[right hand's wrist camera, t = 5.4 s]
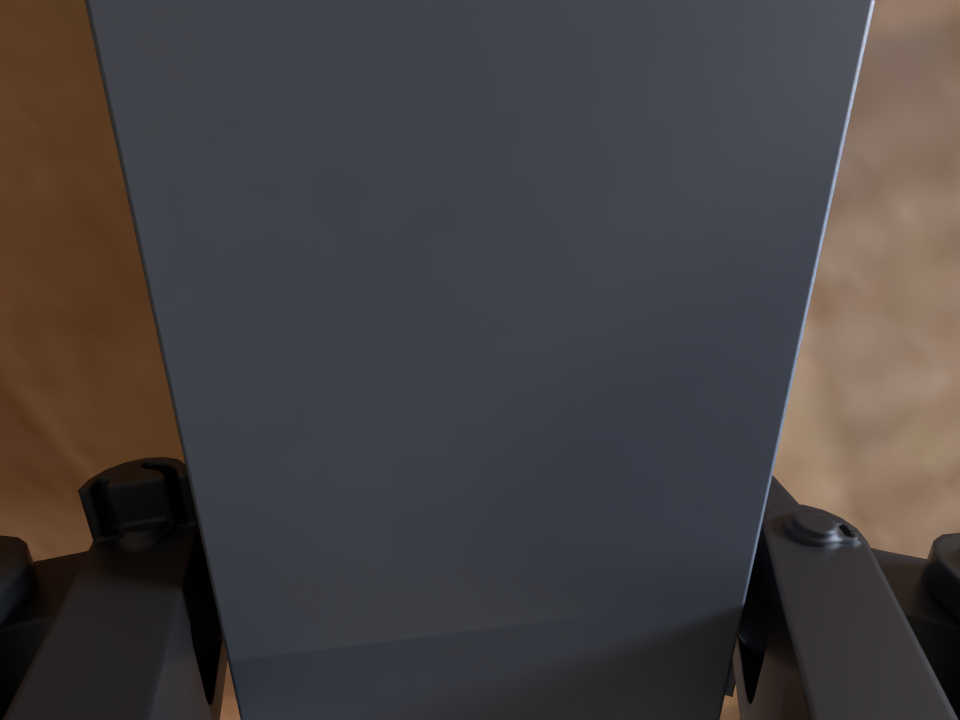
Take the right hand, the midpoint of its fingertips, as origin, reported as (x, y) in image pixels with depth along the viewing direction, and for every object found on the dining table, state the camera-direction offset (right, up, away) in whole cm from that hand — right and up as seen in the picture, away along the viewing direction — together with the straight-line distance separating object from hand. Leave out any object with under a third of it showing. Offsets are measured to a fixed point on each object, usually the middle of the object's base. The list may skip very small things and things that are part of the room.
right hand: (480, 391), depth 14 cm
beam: (0, +32, -11) cm, 34 cm away
